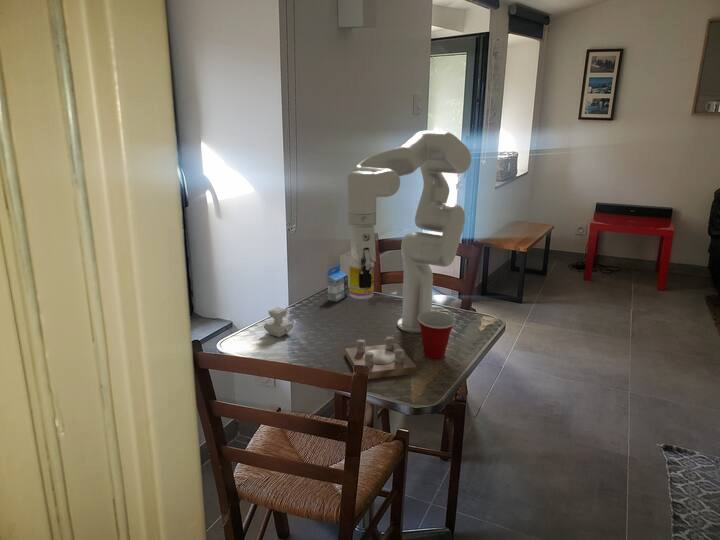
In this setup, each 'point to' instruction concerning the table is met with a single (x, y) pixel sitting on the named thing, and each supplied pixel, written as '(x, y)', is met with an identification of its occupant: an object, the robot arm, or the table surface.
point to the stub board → (381, 359)
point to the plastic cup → (435, 333)
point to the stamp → (278, 323)
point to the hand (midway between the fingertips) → (361, 282)
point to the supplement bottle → (354, 281)
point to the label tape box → (337, 284)
